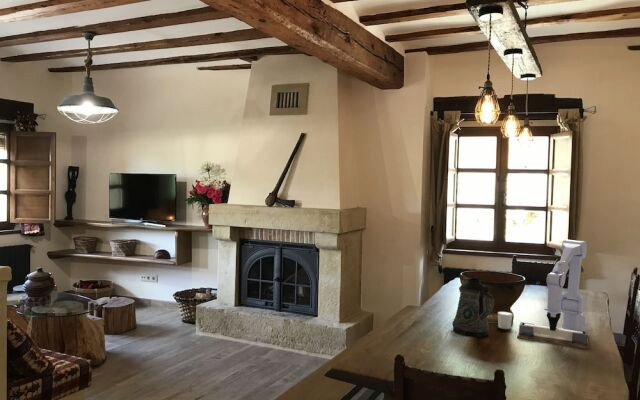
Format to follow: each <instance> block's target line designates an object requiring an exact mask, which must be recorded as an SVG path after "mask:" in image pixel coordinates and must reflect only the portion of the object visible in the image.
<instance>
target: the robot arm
mask: <svg viewBox="0 0 640 400" xmlns="http://www.w3.org/2000/svg"><path fill="white" fill-rule="evenodd" d="M561 250H562V254H561V257H560V260H559V261H556V263H555V264H554V267H553V269H552V271H551V272H550V273H548V274H547V276H546V287H547V304H546V305H547V307H544V311H546V313H547V314H546V317H547V320H548V327H550V330H551V331H555V330H556V328H558V327H557V326H558V323H559V320H560V318H561V315H562V327H559V328H560V329H567V330H580V331H586V316H585V314H583V313H584V311H585V298H584V297H583V296H582V295H581V294H580V293H579V290H580V283H581V282H580V281H581V272H582V271H581V270H582V263H583V262H582V261H583V260H584V259H586V257H587V253H588V251H587V250H588V244H587V242H586V240H572V239H566V238H565V239H563V241H562V243H561ZM568 271H569V273H568ZM567 273H568V281H567V282H568V284H567V291H566V292H564V293H563V287H564V285H565V282H566V279H567V277H566V275H567Z"/></svg>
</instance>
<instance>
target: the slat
mask: <svg viewBox="0 0 640 400" xmlns="http://www.w3.org/2000/svg"><path fill="white" fill-rule="evenodd" d="M524 323H525V324H524V325H526V326H533V327H534V328H533V333H538V334H545V335H551V336H558V337H565V338H571V339H572V333H573V332H574V333H581V334H583V332H581V331H574V330H567V329H560V328H561V327H556V330H555V331H551V330H550V326H545V325H538V324H534V323H531V324H526V323H527V322H524ZM533 324H534V325H533Z"/></svg>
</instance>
